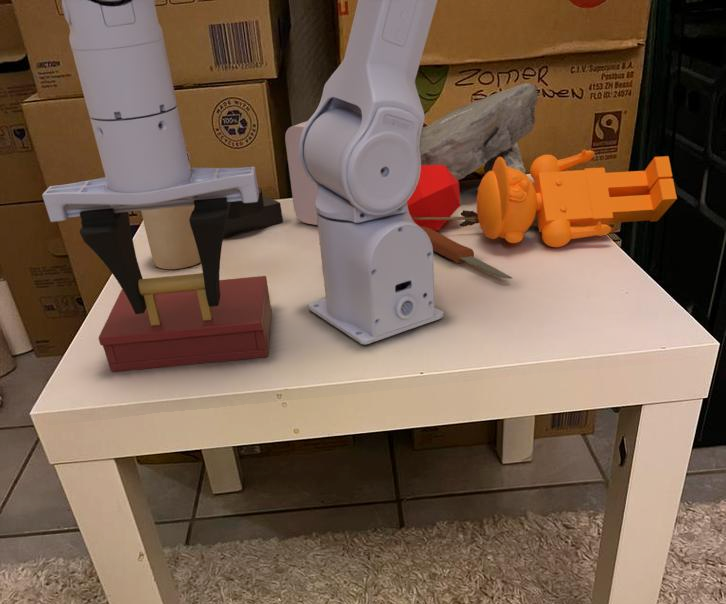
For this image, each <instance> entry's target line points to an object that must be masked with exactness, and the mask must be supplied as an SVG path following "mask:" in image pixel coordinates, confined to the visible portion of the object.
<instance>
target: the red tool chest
mask: <svg viewBox="0 0 726 604" xmlns="http://www.w3.org/2000/svg"><path fill="white" fill-rule="evenodd" d="M269 293H270V291H269V286H268V284H267V289H266V299H265V309H264V319H263V329H262V330H257V331H247V332H237V333H226V334H216V335H206V336H195V337H185V338H174V339H164V340H154V341H143V342H133V343H123V344H112V345H102V347H103V351H104V354H105V357H106V361H107V363H108V366H109V367H108V368H109V371H110V372H111V373H115V372H116V373H117V372H127V371H135V370H137V371H138V370H147V369H157V368H166V367H178V366H189V365H198V364H200V365H201V364H208V363H219V362H229V361H239V360H251V359H260V358H261V359H262V358H268V356H269V346H270V345H269V344H270V335H271V334H270V333H271V323H272V322H271V321H272V305H271V298H270V294H269Z"/></svg>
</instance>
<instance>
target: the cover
mask: <svg viewBox="0 0 726 604" xmlns="http://www.w3.org/2000/svg"><path fill="white" fill-rule="evenodd" d="M219 284H220V301H219V305H218V306H214V307H209V305H208V301H207V297H206V291H205V284H204V277H203V272H201V273H200V272H199V273H191V274H181V275H169V276H160V277H159V276H158V277H149V278H143V279H139V281H138V287H139V292H140V294H141V295H142V296H144V300H145V304H146V310H145V312H144V313H142V314H135V312H134V310H133V308H132V306H131V304H130V302H129V300H128V298H127V296H126V294H125V292H124V291H123V289H122V288H121V290H120V292H119V294H118V296H117V299H116V301H115V302H114V304H113V307H112V309H111V310H110V313H109V315H108V316H107V319H106V321H105V323H104V325H103V328H102V329H101V331H100V334H99V336H98V342H99V345H100V346H102V347H103V345H112V344H123V343H133V342H143V341H154V340H164V339H174V338H185V337H195V336H206V335H216V334H226V333H237V332H247V331H257V330H262V329H263V319H264V309H265V299H266V289H267V285H268V279H267V275H260V276H259V275H258V276H249V277H247V276H246V277H238V278H228V279H219Z"/></svg>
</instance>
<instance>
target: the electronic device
mask: <svg viewBox="0 0 726 604" xmlns="http://www.w3.org/2000/svg"><path fill="white" fill-rule="evenodd" d="M307 122H308V120H306V121H303V122H300V123H298V124H295V125H292V126H289V127H288V128H287V130H286V132H285V136H284V138H285V139H284V140H285V148H286V156H287V164H288V173H289V180H290V188H291V196H292V203H293V210H294V213H295V216H296V217H297V219H298V220H299V221H300V222H302V223H304V224H309V225H313V226H318V223H317V214H316V205H315V203H316V198H317V194H318V190H317V184H316V183H314V182H313V181H312V180H311V179H310V178H309V177H308V176H307V174H306V173H305V171H304V169H303V167H302V164H301V161H300V156H299V142H300V137H301V134H302V131H303V128H304V127H305V125H306V123H307Z"/></svg>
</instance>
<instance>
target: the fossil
mask: <svg viewBox="0 0 726 604" xmlns="http://www.w3.org/2000/svg"><path fill="white" fill-rule="evenodd" d="M519 147H520V145H519V144H518V142H517V143H515V144H514V145H513V146H512V147H511V148H510V149H508V150H507V151H503V152H501V153H499V154H498V155H497V156H496V157H494V158H492V159H489V160H488V161H487V162H486V163H485V164H484V165H483V170H484V176H485V175H486V174H487V173H488V172H489V171H492V170H493V166H494V163H495V161H496V159H497V158H498V157H502V158H503V159H504V160H505V163H506V166H508V167H511V168H512V169H517V170H519V171H521V172H523V173H524V174H525V175H526V176H528V175H527V174H526V173H527V171H526V167H525V166H524V161H523V157H522V154H521V150H520V148H519ZM479 186H480V184H479V185H478V187H477V188H476V191H478V189H479Z"/></svg>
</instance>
